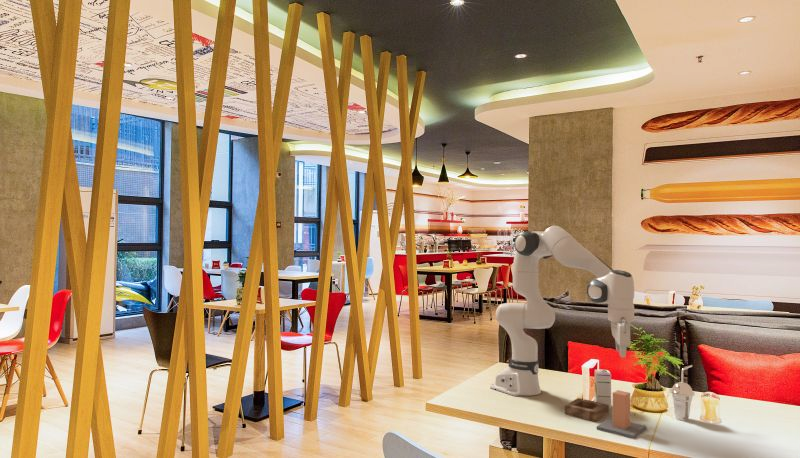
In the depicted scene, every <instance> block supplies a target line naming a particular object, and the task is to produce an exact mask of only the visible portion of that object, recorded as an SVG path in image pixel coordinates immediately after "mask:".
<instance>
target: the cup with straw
mask: <svg viewBox="0 0 800 458" xmlns="http://www.w3.org/2000/svg"><path fill="white" fill-rule="evenodd" d="M692 367H693V364H691V365H688V366H685V367H682V369H681V375H680V377H681V380H680V381H678V382H676V383H674V384H673V386H672V387H671V388H670V390H669V393H670V394H671V396H672V400H673V401H672V402H673V408H674V409H673V410H674V415H675V419H676V420H678V421H683V422H684V421H685V422H687V421H689V417H690V412H691V406H692V400H693V397H694V396H695V392H694V391H693V388H692V387H691V385H690V384H688V383H687V382H684V371H685V370H688V369H689V368H692Z"/></svg>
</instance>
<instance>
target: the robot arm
mask: <svg viewBox="0 0 800 458" xmlns="http://www.w3.org/2000/svg"><path fill="white" fill-rule="evenodd" d="M514 248H515V253H514V257H513V264H512V289H513V291H514V292H515V293H516V294H518V295H520V296H522V297H524V298H525V300H526V302H524V303H523V302H505V303H500V304H499V305H498V306H497V308H496V310H495V320H496V322H497V323H498V324H499V326H501V327H502V328H503V329H504V330H505V331H506V332H507V334H508V336H509V339H510V343H511V357H510V358H509V359H507V360H506V363H508V365H507V366H506V367H505V368H503V369H502V370H501V371H499V372H498V373H497V374H496V376H495V380H494V382H492V383H491V384H490V386H489V387H490V388H489V389H493V390H495V389H496V390H495V391H498V392H501V393H505V394H507V395H510V396H514V397H515V396H516V397H518V396H525V397H526V396H536V395H540V394H541V393H542V390H541V386H540V381H539V359H538V352H539V351H538V341H537V340H536V339H535V338H534V337H532V336H530V335H529V334H527V333H526V332H525V331H524V329H536V330H541V329H550V328H551V327H552V326H553V325H554V323H555V321H556V313H555V310H554V309H553V307H552V306H551V305H549V304H548V303H547V302H546V301H545V300H544V298H543V297H542V295H541V292H540V287H539V262H540V260H541V258H542V259H544V260H546V259H548V258H551V257H553V258H554V259H555V260H556V261H557V262H558V263H559V264H561V265H563V266H564V267H567V268H572V269H579V270H584V271H587V272H590V273H591V274H593V275H594V276H595V277H596V278H591V280H589V281H588V283H587V286H586V295H587V297H588V299H589V300H590V302H592V303H594V304H599V305H600V304H601V305H603V304H607V320H608V321H610V330H611V335H612V336H613V339H614V341H615V351H617V352H619V356H620V358H626V356H627V355H626V354H627V348H628V347H631V323H633V322H635V305H634V298H635V282H634V278H633V275H632V274H631V273H630V272H628V271H626V270H620V269H618V270H617V269H613V268H612V267H610V266H609V265H608V264H607V263H606V262H604V260H602V259H601V258H600V257H598V256H597V255H596V254H594V252H591V251H590V250H589V249H587V248H586V247H584V246H583V245H582V244H581V243H579V242H578V241H577V240H576V239H575V238H574V236H572V234H570V233H569V232H567V231H566V230H565V229H564V228H562V227H561V226H559V225H551V226H549V227H547V228H546V229H545V230H544V231H542V230H541V231H540V230H537V231H528V230H527V231H521V232H519V233H518V234H517V235H516V236H515V239H514Z"/></svg>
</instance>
